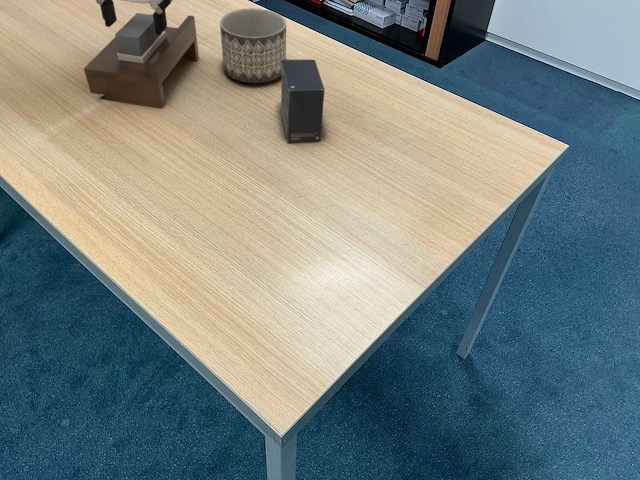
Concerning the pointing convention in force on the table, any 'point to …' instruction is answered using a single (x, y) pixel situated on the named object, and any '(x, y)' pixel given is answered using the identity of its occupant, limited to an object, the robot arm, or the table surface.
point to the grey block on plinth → (138, 39)
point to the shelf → (142, 68)
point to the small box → (301, 100)
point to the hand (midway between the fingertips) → (136, 27)
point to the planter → (253, 44)
